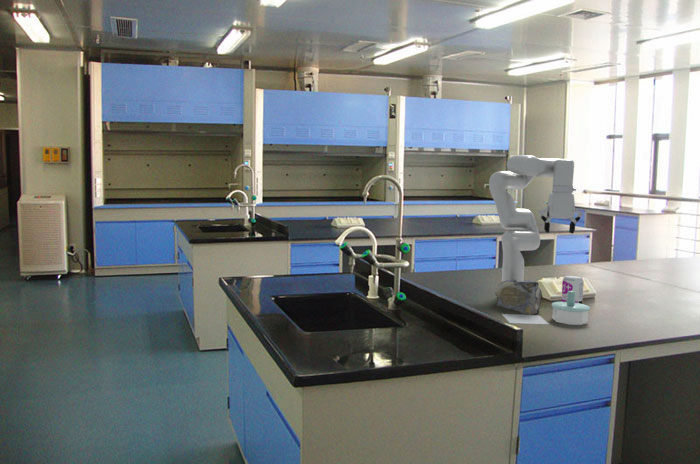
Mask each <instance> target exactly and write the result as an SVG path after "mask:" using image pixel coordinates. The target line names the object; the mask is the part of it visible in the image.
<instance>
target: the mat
mask: <svg viewBox="0 0 700 464" xmlns="http://www.w3.org/2000/svg"><path fill="white" fill-rule="evenodd" d="M501 315H502V316H503V317H504V319H505V320H506V321H507V322H508V323H509V324H518V325H519V324H522V325H524V324H525V325H526V324H527V325H550V323H549V322H547V321H546V320H545V319H544V318H543V317H542V316H541V315H538V314H533V315H529V314H513V313H511V314H510V313H501Z"/></svg>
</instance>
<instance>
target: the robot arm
mask: <svg viewBox="0 0 700 464" xmlns="http://www.w3.org/2000/svg"><path fill="white" fill-rule="evenodd" d="M506 168H507V169H508V170H499V171H495V172H494V173H492V174H491V176H490V177H489V182H488V183H489V184H488V187H489V188H488V189H489V192H490V195H491V197H492V200H493V202H494V203H495V207H496V211H497V215H498V219H499V223H500V225H501V227H502V228H503V229H506V230H507V231H504V233H502V236H501V248H502V268H501V271H502V273H501V274H502V275H501V282H503V281H506V280H513V279H514V280H517V281H522V280H523V281H524V274H525V273H524V272H525V259H524V256H523V253H521V252H523V251H535V250H537V249H538V248H539V247H540V244H541V236H540V233H539V228H538V225H537V222H536V218H535V216H534V213H533V212H532V211H531V210H530V209H527V208H517V207H516V204H515V203H516V202H515V199H514V198H513V196H512V195H511V194H510V193H509V192H508V191H507V190H519V191H520V190H523V189H525V188H527V187H528V185H530V183H531V182H532V181H533V179H534V178H535V177H539V178H541V177H542V178H548V177H549V178H552V188H551V189H552V190H551V191H552V192H551V193H549V195H548V199H547V204H546V207H545V208H542V209H541V210H538V215H539V216H540V219H541V220H542V221H543V222H544V227H543V229H544V231H545V233H548V234H549V233H550V227H551V224H550V221H551V220H552V219H564V220H565V219H567V220H569V222H570V223H569V230H568V231H569V233H570V234H574V232H575V230H576V224H577V222H579V221H580V220H581V217H582V216H583V215H584V213H583V212H582V211H580V210H578V209H577V208H576V206H575V205H576V204H575V202H576V201H575V195H574V193H573V192H576V191H577V188H576V187H574V185H573V183H574V173H575V171H574V170H575V161H574V160H573V159H568V158H551V157H550V158H547V157H546V158H545V157H544V158H543V157H541V158H540V157H536V156H535V155H523V154H516V155H512V156H510V158H509V159H508V160H507V161H506ZM544 213H546V214H544ZM575 214H577V215H576V217H575ZM545 215H546V216H545Z"/></svg>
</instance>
